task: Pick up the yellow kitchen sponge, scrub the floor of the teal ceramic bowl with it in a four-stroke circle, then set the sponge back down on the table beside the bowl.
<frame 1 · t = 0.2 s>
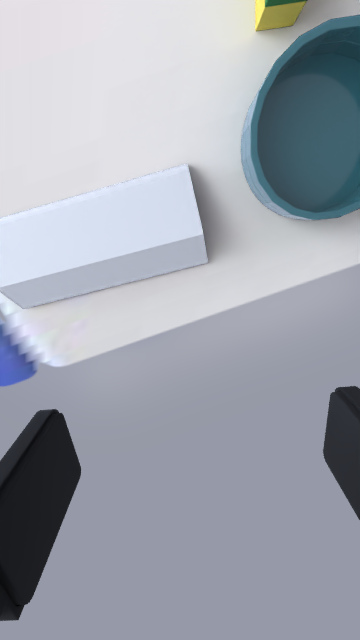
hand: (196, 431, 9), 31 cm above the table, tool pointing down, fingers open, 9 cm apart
crown molding: (98, 243, 37), on the table
bowl: (313, 141, 32), on the table
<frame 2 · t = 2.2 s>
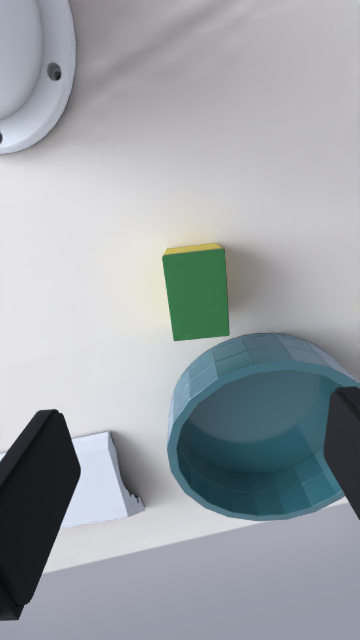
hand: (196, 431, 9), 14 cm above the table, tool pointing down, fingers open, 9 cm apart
sponge: (194, 282, 22), on the table
crown molding: (15, 490, 32), on the table
bowl: (257, 411, 27), on the table
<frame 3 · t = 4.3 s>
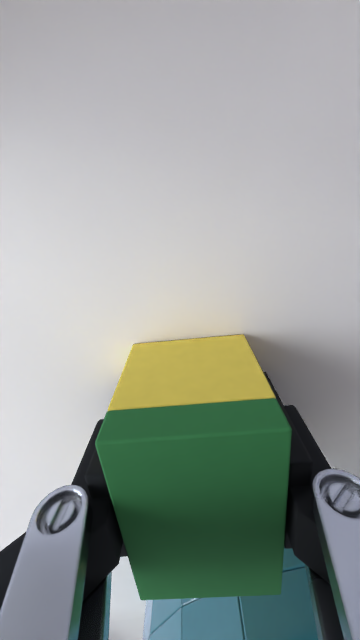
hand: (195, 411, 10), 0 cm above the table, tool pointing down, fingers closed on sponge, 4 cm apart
sponge: (194, 406, 11), on the table, touching gripper
bowl: (300, 593, 15), on the table
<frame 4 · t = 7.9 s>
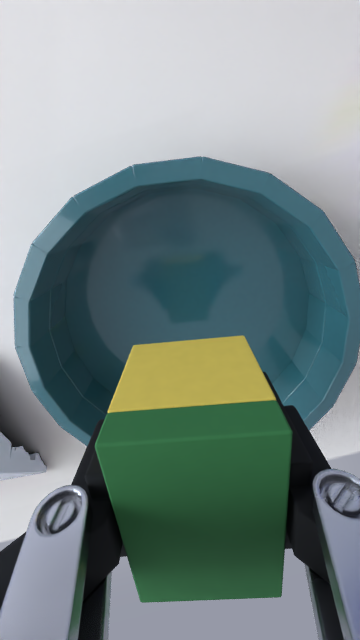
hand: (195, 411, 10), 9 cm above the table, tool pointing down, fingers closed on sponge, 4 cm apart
sponge: (194, 407, 10), point 9 cm above the table, touching gripper
bowl: (185, 319, 18), on the table
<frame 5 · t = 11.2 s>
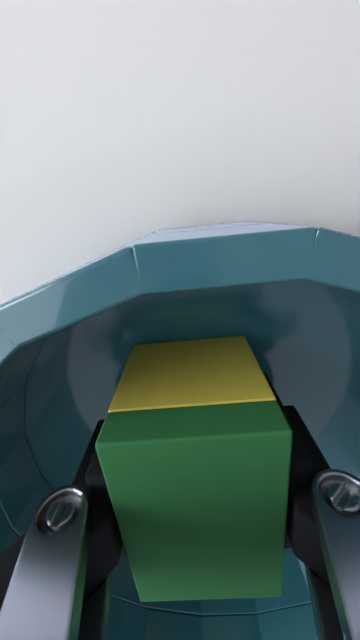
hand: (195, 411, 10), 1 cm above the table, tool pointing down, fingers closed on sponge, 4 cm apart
sponge: (195, 407, 10), point 1 cm above the table, touching gripper
bowl: (214, 433, 12), on the table
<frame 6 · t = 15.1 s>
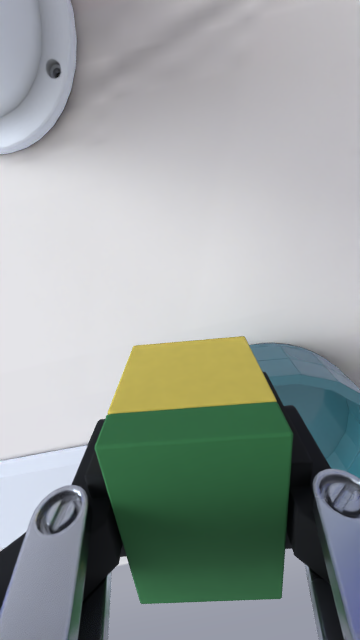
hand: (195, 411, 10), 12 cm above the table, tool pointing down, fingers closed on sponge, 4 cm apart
sponge: (195, 407, 10), point 12 cm above the table, touching gripper
crown molding: (8, 499, 31), on the table
bowl: (259, 422, 26), on the table
when the fingers open (0 cm above the table, at t = 18.2 s): sponge stays where it is, on the table.
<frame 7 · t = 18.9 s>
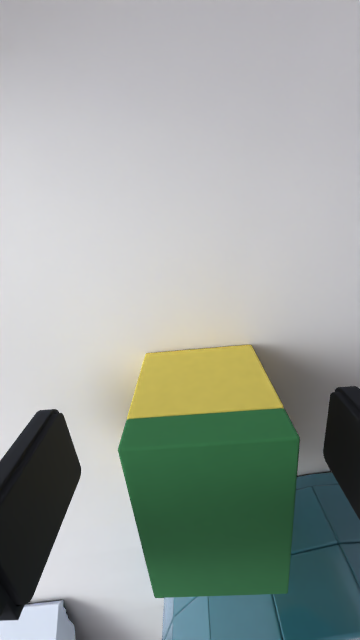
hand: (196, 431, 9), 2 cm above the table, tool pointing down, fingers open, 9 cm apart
sponge: (203, 412, 11), on the table
bowl: (319, 581, 15), on the table
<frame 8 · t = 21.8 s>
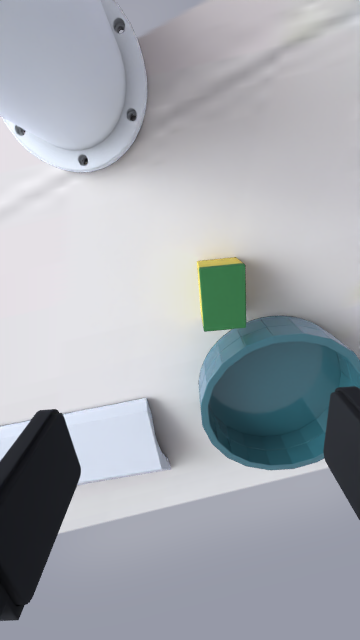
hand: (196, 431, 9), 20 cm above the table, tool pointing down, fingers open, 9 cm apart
sponge: (217, 287, 28), on the table
crown molding: (61, 450, 37), on the table
bowl: (270, 382, 32), on the table
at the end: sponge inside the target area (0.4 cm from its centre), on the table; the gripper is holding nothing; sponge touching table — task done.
